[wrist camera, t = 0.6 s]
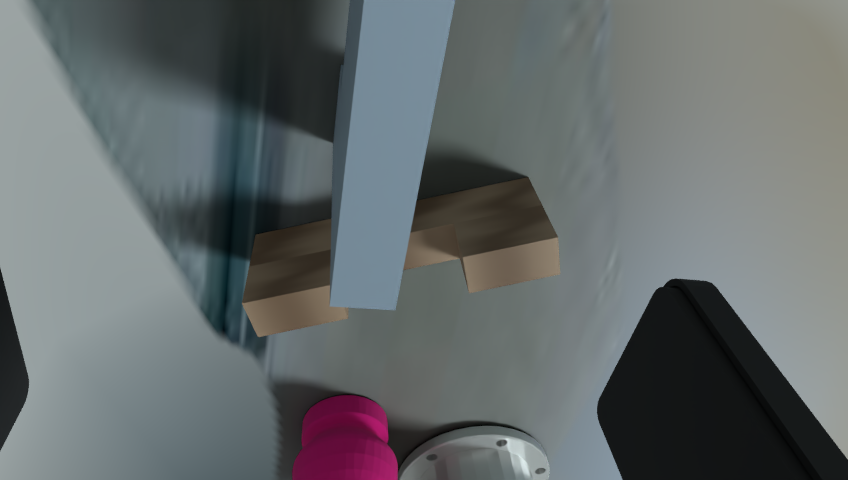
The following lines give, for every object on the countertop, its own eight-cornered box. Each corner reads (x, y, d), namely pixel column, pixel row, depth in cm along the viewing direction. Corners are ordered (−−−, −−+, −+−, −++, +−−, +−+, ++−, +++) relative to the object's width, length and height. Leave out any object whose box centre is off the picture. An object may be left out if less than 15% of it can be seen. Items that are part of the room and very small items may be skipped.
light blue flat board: (378, 148, 33) (395, 310, 23) (333, 143, 33) (329, 306, 22) (430, -217, 24) (499, -228, 14) (369, -230, 24) (391, -253, 13)
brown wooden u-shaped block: (528, 177, 35) (557, 237, 30) (531, 211, 37) (560, 274, 32) (255, 234, 35) (242, 303, 31) (269, 266, 37) (258, 337, 32)
